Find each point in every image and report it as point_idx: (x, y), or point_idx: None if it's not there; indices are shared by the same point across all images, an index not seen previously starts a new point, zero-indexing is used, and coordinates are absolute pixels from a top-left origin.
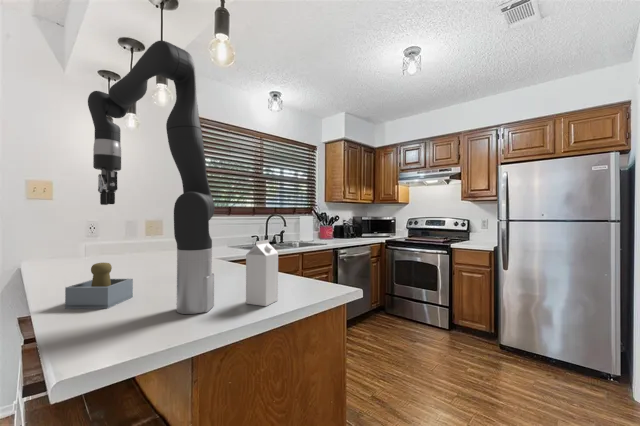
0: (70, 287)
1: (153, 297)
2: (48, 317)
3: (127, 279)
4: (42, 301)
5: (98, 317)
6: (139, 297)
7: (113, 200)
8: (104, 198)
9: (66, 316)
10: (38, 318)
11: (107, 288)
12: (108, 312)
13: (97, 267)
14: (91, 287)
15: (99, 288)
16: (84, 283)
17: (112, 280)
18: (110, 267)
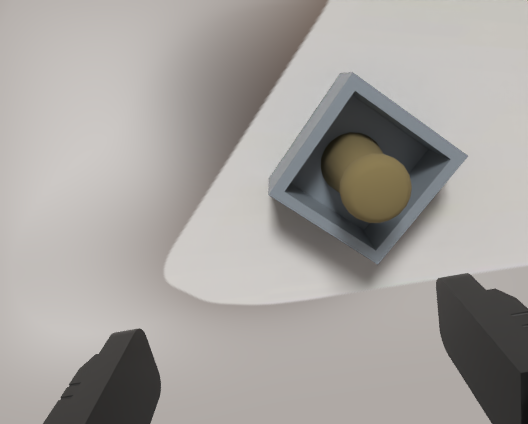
0: (387, 252)
1: (389, 6)
2: (427, 263)
3: (357, 92)
4: (240, 293)
5: (515, 164)
6: (357, 52)
7: (518, 304)
8: (125, 416)
9: (447, 230)
10: (421, 279)
11: (464, 156)
12: (483, 142)
13: (407, 203)
14: (430, 200)
15: (447, 178)
16: (331, 221)
17: (317, 141)
18: (395, 159)
